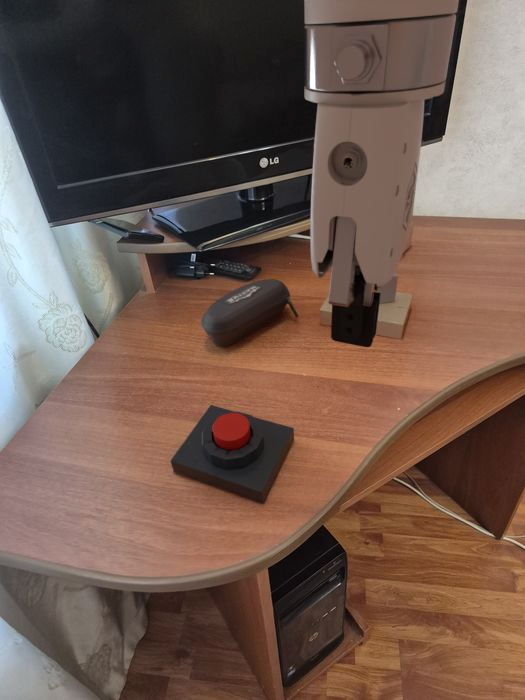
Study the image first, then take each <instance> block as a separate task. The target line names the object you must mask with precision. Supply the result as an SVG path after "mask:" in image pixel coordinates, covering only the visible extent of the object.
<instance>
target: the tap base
mask: <svg viewBox="0 0 525 700" xmlns="http://www.w3.org/2000/svg"><path fill="white" fill-rule="evenodd" d="M413 296H414V293H408V292H401V291H396V295H395V302H389V303H379V312H378V320H377V329H376V334H375V336H380V337H381V336H382V337H385V338H386V337H387V338H391V339H395V340H396V339H397V340H402V338H403V334H404V331H405V328H406V325H407V322H408V318H409V315H410V312H411V309H412V304H413V298H414V297H413ZM318 316H319V319H318V320H319V321H318V324H319V325H323V326H329V327H331V321H332V305H331V304H329V294H328V295H327V296H326V298H325V299H324V302H323V303H322V305H321V306H320V308H319V315H318Z"/></svg>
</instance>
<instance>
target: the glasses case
mask: <svg viewBox="0 0 525 700" xmlns="http://www.w3.org/2000/svg"><path fill="white" fill-rule="evenodd" d="M287 305H288V306H289V308H290V309H291V312H292V314H293V315H294V317H295V318H299V313H298V311H297V309H296V308H295V305H294V303H293V301H291V293H290V291H289V289H288V287H287V285H285V283H284V282H282V281H281V280H278V279H275V278H267V279H266V278H265V279H260V280H256V281H252V282H250V283H247V284H244V285H242V286H240V287H238V288H235V289H234V290H232V291H230V292H228V293H226V294H224V295H223V296H222V297H220V298H218V299H217V300H216V301H214V302H213V303H212V304H211V305H210V306H209V307H208V308H207V309H206V311H205V312H204V314H203V315H202V318H201V321H200V322H201V323H200V325H201V327H202V328H203V330H204V331H205V333H206V334H207V335H208V337H209V339H210V340H211V342H212V343H213V344H214V345H216V346H218V347H221V348H227V347H229V346H231V345H233V344H235V343H236V342H238V341H240V340H241V339H244V338H245V337H247V336H248V335H251V334H253V333H255V332H256V331H258V330H259V329H262V328H264V327H265V326H267V325H268V324H270V323H272V322H273V321H275V320H277V319H278V318H279V317H281V316H282V315H283V313H284V311H285V309H286V306H287Z"/></svg>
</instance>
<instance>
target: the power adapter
mask: <svg viewBox="0 0 525 700" xmlns="http://www.w3.org/2000/svg"><path fill="white" fill-rule="evenodd" d="M413 234H414V223H413V222H412V226H411V232H410V236H409V239H408V241H407V244H406V247H405V249H404V252H403V253H405V252H406V251H407V250H408V249H410V246H411V245H412V239H413Z"/></svg>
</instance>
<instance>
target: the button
mask: <svg viewBox="0 0 525 700" xmlns="http://www.w3.org/2000/svg"><path fill="white" fill-rule="evenodd" d="M213 435H214V440H215V443H216V444H217V445H218V446H219V447H220V448H222V449H224V450H237V449H240V448H242V447H244V446H245V445H246V444H247V443H248V442H249V440H250V437H251V432H250V424H249V421H248V419H247V418H246V417H245V416H243V415H241V414H238V413H228V414H225V415H222V416H220V417H219V418H218V419H217V420H216V421H215V422H214V424H213Z"/></svg>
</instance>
